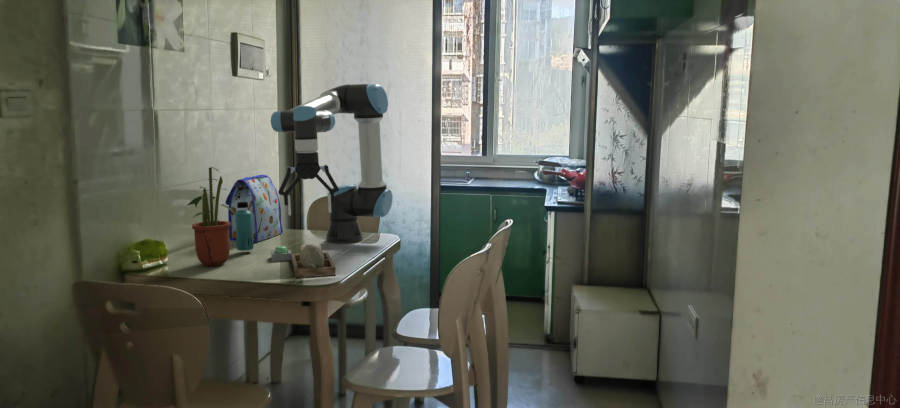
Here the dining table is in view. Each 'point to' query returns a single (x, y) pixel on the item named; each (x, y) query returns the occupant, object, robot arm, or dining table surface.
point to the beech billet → (311, 244)
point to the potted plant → (211, 229)
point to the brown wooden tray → (302, 271)
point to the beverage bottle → (244, 228)
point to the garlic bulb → (312, 257)
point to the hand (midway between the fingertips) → (309, 213)
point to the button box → (281, 256)
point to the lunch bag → (256, 206)
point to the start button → (281, 249)
